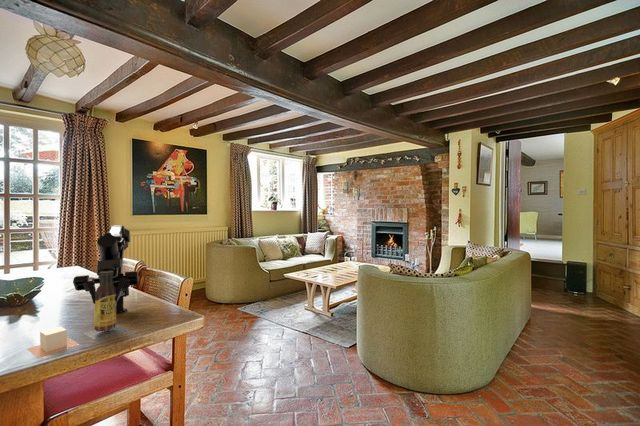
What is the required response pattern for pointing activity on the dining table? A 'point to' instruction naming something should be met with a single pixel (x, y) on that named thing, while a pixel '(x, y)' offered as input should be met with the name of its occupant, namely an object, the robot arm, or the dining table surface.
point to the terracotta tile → (40, 352)
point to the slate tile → (105, 333)
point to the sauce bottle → (105, 302)
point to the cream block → (53, 339)
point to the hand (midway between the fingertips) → (105, 301)
